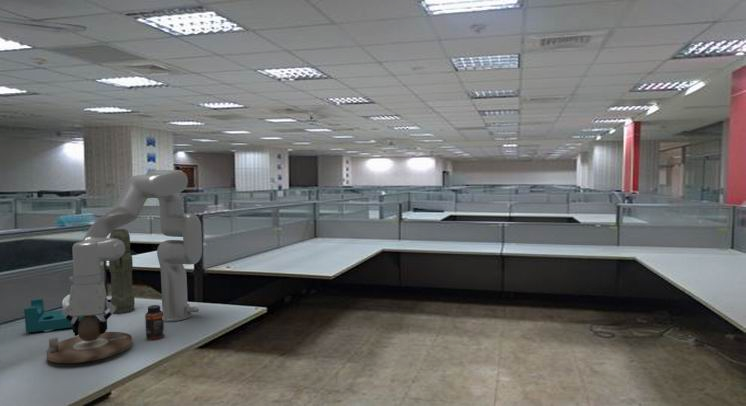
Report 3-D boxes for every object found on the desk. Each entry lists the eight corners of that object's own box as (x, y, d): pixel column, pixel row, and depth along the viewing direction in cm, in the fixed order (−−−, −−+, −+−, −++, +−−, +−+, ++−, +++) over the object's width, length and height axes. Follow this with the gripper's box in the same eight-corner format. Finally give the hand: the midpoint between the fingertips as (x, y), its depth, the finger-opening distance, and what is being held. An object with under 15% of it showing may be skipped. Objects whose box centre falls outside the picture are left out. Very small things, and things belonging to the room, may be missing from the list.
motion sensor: (60, 315, 199) (59, 296, 198) (64, 310, 206) (63, 292, 205) (83, 312, 202) (82, 294, 202) (86, 308, 209) (85, 290, 209)
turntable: (124, 331, 172) (123, 316, 172) (139, 350, 153) (139, 333, 153) (43, 347, 157) (42, 330, 157) (50, 369, 138) (49, 351, 138)
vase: (107, 335, 158) (106, 309, 158) (93, 343, 151) (92, 316, 151) (88, 335, 159) (86, 309, 158) (73, 342, 152) (71, 315, 151)
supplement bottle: (168, 335, 171) (167, 304, 171) (155, 341, 166) (154, 309, 165) (155, 334, 173) (153, 303, 172) (142, 339, 168) (140, 307, 167)
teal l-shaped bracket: (26, 336, 175) (24, 309, 173) (34, 325, 184) (31, 299, 183) (83, 329, 182) (81, 303, 180) (87, 319, 191) (85, 294, 190)
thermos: (109, 316, 196) (105, 231, 194) (112, 309, 207) (109, 229, 205) (133, 313, 200) (130, 230, 197) (135, 306, 210) (132, 227, 208)
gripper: (52, 283, 148) (55, 339, 150) (113, 280, 152) (115, 335, 153) (63, 278, 156) (66, 332, 157) (120, 275, 159) (123, 328, 160)
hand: (90, 333), depth 155 cm, fingers closed on vase, 6 cm apart
